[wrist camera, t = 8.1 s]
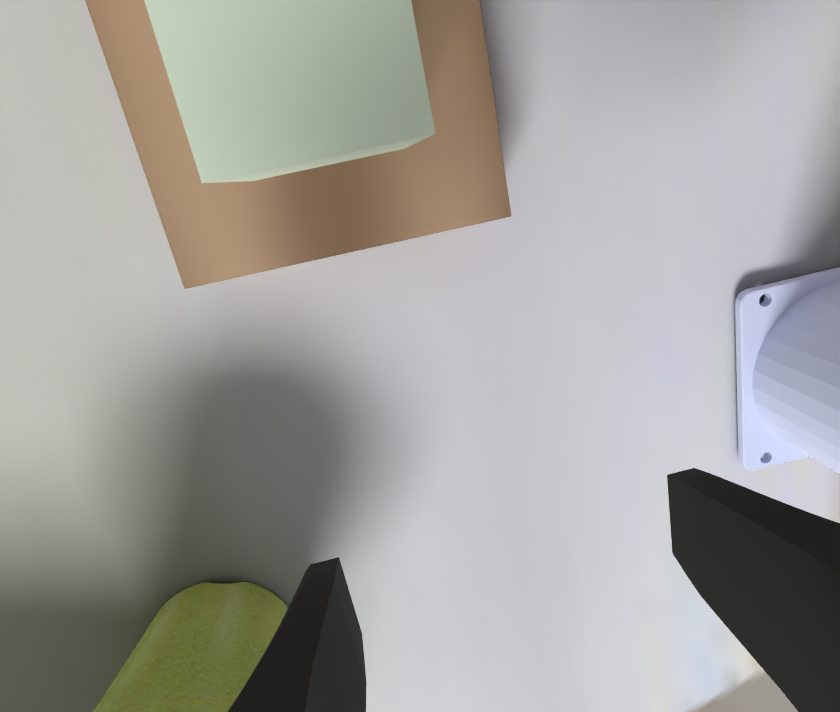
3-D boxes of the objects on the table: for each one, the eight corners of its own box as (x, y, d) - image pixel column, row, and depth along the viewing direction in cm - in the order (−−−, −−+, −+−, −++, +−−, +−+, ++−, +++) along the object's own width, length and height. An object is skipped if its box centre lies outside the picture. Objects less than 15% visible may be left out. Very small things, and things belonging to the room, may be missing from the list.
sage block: (369, -27, 15) (383, -153, 9) (404, 148, 16) (435, 133, 11) (203, 6, 15) (111, -102, 9) (253, 181, 16) (202, 183, 10)
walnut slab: (434, -128, 17) (451, -190, 14) (488, 210, 20) (511, 216, 17) (98, -65, 16) (45, -116, 13) (208, 272, 20) (184, 288, 17)
